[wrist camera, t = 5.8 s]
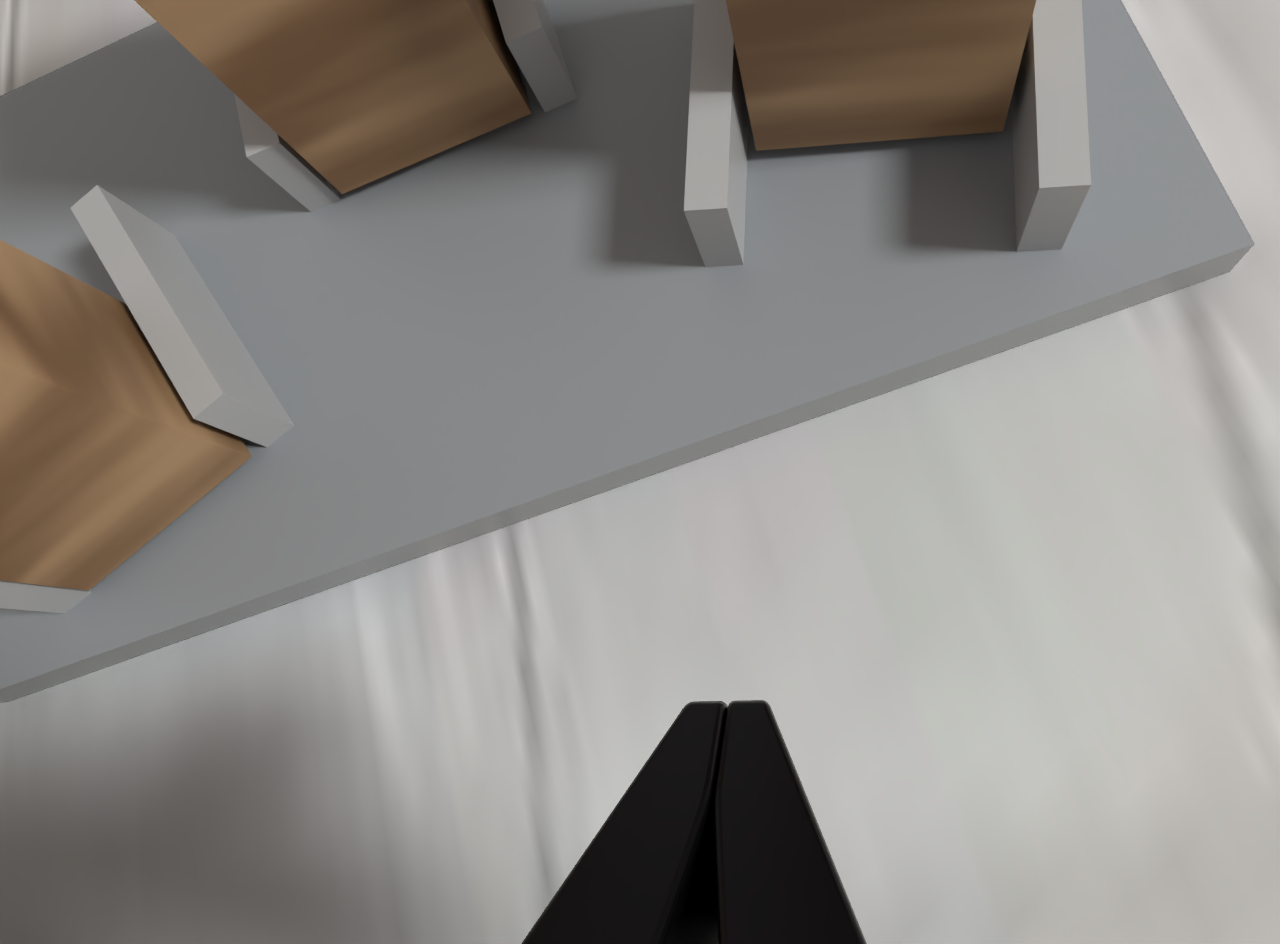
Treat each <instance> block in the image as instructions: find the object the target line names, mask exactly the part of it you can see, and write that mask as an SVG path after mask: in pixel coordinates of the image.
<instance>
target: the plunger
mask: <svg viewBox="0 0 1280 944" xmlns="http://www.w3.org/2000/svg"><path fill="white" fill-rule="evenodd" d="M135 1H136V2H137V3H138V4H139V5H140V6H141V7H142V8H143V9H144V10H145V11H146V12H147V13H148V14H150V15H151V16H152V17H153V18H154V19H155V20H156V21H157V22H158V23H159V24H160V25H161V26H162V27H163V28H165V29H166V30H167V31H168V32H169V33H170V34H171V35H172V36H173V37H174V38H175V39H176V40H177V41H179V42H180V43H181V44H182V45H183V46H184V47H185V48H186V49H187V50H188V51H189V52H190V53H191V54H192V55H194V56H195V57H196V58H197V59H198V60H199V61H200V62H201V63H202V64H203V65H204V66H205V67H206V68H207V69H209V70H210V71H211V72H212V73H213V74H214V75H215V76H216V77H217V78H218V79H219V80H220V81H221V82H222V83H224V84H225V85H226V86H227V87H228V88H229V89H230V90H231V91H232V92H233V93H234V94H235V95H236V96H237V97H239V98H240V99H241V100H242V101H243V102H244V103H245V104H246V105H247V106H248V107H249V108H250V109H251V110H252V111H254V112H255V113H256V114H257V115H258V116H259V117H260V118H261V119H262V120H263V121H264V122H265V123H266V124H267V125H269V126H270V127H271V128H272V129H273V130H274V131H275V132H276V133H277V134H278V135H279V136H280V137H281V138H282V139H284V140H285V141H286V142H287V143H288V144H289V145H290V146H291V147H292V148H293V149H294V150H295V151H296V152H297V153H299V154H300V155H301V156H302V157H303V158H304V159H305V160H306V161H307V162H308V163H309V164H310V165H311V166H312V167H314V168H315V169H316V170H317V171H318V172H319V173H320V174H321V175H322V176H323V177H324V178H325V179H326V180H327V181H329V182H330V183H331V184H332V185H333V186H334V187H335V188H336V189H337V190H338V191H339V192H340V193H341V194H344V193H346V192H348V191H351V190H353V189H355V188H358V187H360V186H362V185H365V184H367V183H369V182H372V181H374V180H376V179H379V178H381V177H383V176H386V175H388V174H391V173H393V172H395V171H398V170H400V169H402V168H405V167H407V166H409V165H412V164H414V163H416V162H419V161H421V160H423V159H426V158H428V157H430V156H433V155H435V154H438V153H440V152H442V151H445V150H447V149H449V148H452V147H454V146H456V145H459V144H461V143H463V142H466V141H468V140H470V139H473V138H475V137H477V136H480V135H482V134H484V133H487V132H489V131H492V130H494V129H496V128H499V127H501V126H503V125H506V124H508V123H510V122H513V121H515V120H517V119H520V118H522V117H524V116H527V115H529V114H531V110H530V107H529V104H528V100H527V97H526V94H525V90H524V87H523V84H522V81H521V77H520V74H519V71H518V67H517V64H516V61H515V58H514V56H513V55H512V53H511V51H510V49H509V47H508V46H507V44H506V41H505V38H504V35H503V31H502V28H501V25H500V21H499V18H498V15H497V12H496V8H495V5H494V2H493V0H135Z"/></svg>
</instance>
